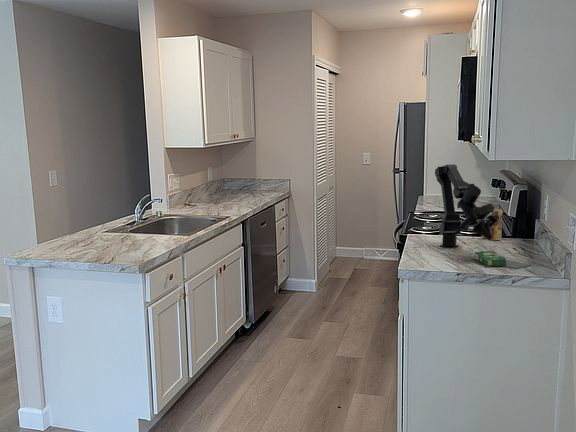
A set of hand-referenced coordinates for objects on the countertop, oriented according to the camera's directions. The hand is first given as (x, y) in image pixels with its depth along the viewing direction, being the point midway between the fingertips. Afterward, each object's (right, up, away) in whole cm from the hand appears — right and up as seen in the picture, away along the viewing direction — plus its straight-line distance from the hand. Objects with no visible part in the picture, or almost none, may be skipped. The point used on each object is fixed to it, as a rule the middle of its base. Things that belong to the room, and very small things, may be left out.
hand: (491, 238), depth 223 cm
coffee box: (-2, -7, +3) cm, 8 cm away
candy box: (+18, -3, +47) cm, 51 cm away
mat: (+5, -10, -6) cm, 13 cm away
